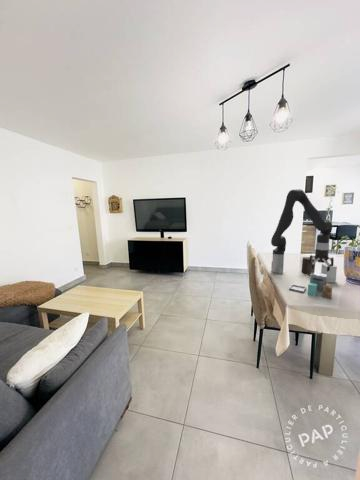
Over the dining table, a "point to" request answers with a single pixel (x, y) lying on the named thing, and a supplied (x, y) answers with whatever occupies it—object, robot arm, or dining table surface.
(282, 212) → the robot arm
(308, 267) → the pillar candle
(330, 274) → the supplement box
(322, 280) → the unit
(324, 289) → the walnut block
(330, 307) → the dining table surface
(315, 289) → the teal block
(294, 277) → the dining table surface
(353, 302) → the dining table surface
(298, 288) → the tray
